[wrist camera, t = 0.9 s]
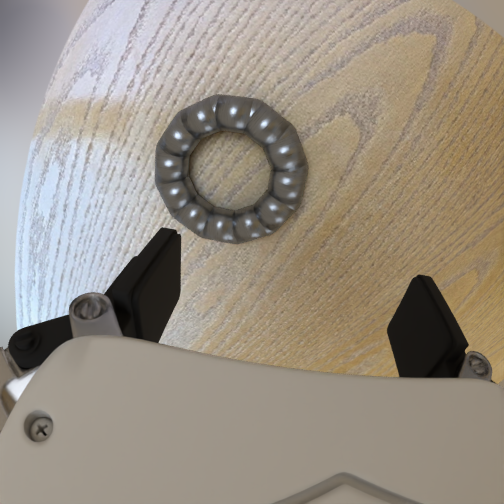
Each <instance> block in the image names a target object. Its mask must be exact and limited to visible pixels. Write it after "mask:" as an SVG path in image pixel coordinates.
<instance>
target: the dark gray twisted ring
mask: <svg viewBox="0 0 504 504" xmlns="http://www.w3.org/2000/svg"><path fill="white" fill-rule="evenodd" d="M221 130H222V131H230V132H237V133H244V134H246V135H247V136H248V137H249V138H251V139H252V140H253V141H255V142H256V143H257V144H258V145H260V146H261V147H262V148H263V150H264V152H265V155H266V157H267V160H268V162H269V165H270V167H271V173H270V179H269V185H268V189H267V191H266V192H265V193H264V194H263V195H262V196H261V197H260V198H259V200H258V201H257V202H256V203H255V204H254V205H250V206H247V207H244V208H241V209H238V210H229V209H223V208H217V207H214V206H212V205H211V204H210V203H208V202H207V201H206V200H204V199H203V198H202V197H200V196H199V195H198V194H197V193H196V191H195V189H194V186H193V184H192V182H191V180H190V178H189V176H188V171H189V158H190V154H191V153H192V151H193V150H194V148H195V147H196V146H197V144H198V143H199V141H200V140H201V139H202V138H204V137H207V136H209V135H211V134H214V133H216V132H219V131H221ZM307 174H308V162H307V159H306V156H305V154H304V151H303V148H302V145H301V142H300V140H299V137H298V134H297V132H296V129H295V128H294V126H293V125H292V124H291V123H290V122H288V121H287V120H286V119H285V118H283V117H282V116H281V115H280V114H278V113H277V112H276V111H275V110H273V109H272V108H271V107H269V106H268V105H267V104H266V103H264V102H263V101H261V100H259V99H255V98H247V97H239V96H231V95H220V94H218V95H213V96H211V97H208V98H206V99H204V100H202V101H200V102H197V103H195V104H193V105H191V106H189V107H187V108H185V109H183V110H181V111H179V112H178V113H177V114H176V115H175V117H174V118H173V120H172V121H171V123H170V124H169V126H168V127H167V129H166V130H165V132H164V134H163V135H162V137H161V138H160V140H159V141H158V143H157V146H156V157H155V184H156V187H157V189H158V191H159V193H160V195H161V197H162V199H163V201H164V203H165V205H166V207H167V209H168V210H169V212H170V214H171V216H172V217H173V218H175V219H176V220H177V221H179V222H180V223H181V224H183V225H184V226H185V227H187V228H188V229H190V230H191V231H192V232H194V233H195V234H196V235H198V236H199V237H201V238H204V239H210V240H215V241H221V242H226V243H231V244H241V243H244V242H248V241H251V240H254V239H258V238H261V237H265V236H268V235H271V234H273V233H274V232H276V231H277V230H278V229H279V228H280V227H281V226H282V225H283V224H284V222H285V221H286V220H287V219H288V218H289V217H290V216H291V215H292V214H293V213H294V212H295V211H296V210H297V209H298V208H299V206H300V204H301V201H302V197H303V192H304V188H305V183H306V179H307Z"/></svg>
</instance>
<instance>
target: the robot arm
mask: <svg viewBox="0 0 504 504" xmlns="http://www.w3.org/2000/svg"><path fill="white" fill-rule="evenodd" d="M180 291H181V235H180V234H177V231H176V230H174V229H169V228H163V227H162V228H160V230H159V231H158V232H157V233H156V234H155V236H154V237H153V238H152V239H151V240H150V242H149V243H148V244H147V245H146V246H145V248H144V249H143V250H142V251H141V252H140V254H139V255H138V256H135V257H133V258H132V259H131V261H130V262H129V263H128V264H127V266H126V267H125V268H124V269H123V271H122V272H121V273H120V274H119V276H118V277H117V278H116V279H115V281H114V282H113V283H112V284H111V286H110V287H109V288H108V290H107V291H106V292H105V294H101V293H95V292H91V293H85V294H82V295H80V296H78V297H77V298H75V299H74V300H73V301H72V302H71V304H70V307H69V315H65V316H62V317H59V318H55V319H52V320H48V321H45V322H42V323H38V324H35V325H31V326H28V327H24V328H22V329H20V330H18V331H17V332H15V333H14V334H13V336H12V337H11V338H10V341H9V344H8V348H6V349H5V350H4V349H3V347H0V504H504V388H503V387H502V386H500V385H498V384H496V383H495V382H493V381H492V380H491V376H492V367H491V365H490V363H489V361H488V360H487V358H486V357H485V356H483V355H482V354H481V353H479V352H476V351H470V352H468V353H467V354H466V353H465V349H466V348H467V347H468V345H469V344H468V342H467V340H466V338H465V336H464V334H463V332H462V330H461V329H460V327H459V325H458V323H457V321H456V319H455V317H454V315H453V314H452V312H451V310H450V308H449V306H448V305H447V303H446V301H445V299H444V298H443V296H442V294H441V292H440V291H439V289H438V287H437V286H436V284H435V282H434V281H433V279H432V278H431V277H430V276H425V275H417V276H416V277H414V278H413V279H412V280H411V282H410V285H409V287H408V289H407V291H406V293H405V295H404V297H403V299H402V301H401V303H400V305H399V306H398V308H397V310H396V312H395V314H394V316H393V318H392V320H391V321H390V323H389V325H388V328H387V334H388V337H389V341H390V344H391V347H392V351H393V354H394V358H395V362H396V365H397V369H398V373H399V377H382V376H365V375H352V374H340V373H329V372H320V371H311V370H303V369H295V368H287V367H280V366H273V365H267V364H260V363H254V362H248V361H242V360H237V359H231V358H226V357H221V356H216V355H211V354H206V353H201V352H196V351H192V350H187V349H183V348H179V347H174V346H169V345H164V344H160V343H158V342H159V340H160V338H161V336H162V333H163V331H164V329H165V327H166V325H167V323H168V321H169V319H170V316H171V314H172V312H173V310H174V308H175V306H176V304H177V302H178V300H179V297H180Z"/></svg>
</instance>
